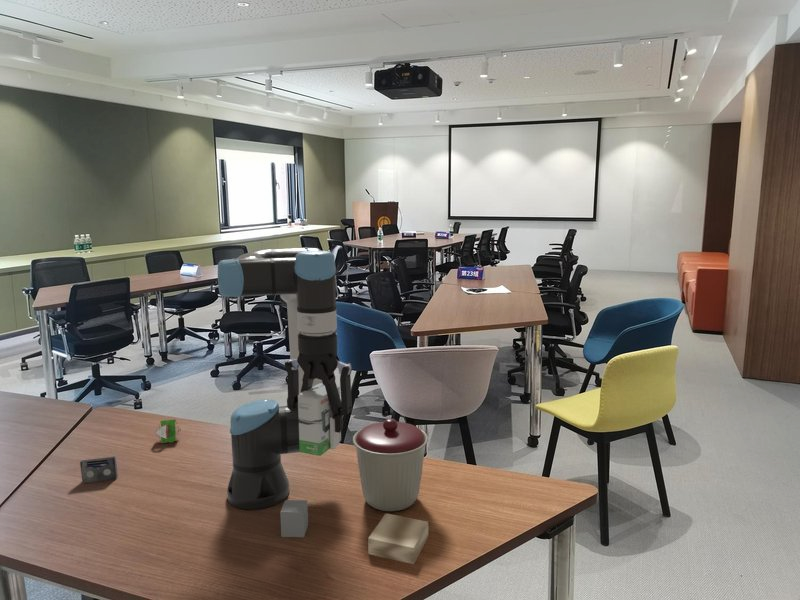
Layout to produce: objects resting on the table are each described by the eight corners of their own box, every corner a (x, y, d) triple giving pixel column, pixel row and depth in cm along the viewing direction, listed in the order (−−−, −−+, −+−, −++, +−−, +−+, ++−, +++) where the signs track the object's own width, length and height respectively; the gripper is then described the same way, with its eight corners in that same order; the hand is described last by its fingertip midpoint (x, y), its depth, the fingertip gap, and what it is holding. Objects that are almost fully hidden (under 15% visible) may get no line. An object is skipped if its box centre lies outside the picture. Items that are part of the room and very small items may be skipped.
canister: (338, 503, 139) (336, 421, 135) (387, 475, 152) (386, 400, 148) (395, 530, 127) (394, 441, 123) (442, 497, 141) (443, 417, 137)
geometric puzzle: (159, 428, 178) (155, 415, 173) (182, 426, 180) (178, 413, 174) (157, 449, 174) (152, 436, 168) (181, 446, 175) (177, 433, 170)
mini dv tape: (117, 476, 153) (115, 455, 152) (116, 479, 151) (114, 458, 150) (84, 480, 150) (81, 459, 149) (82, 483, 149) (80, 462, 148)
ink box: (320, 457, 109) (318, 398, 107) (298, 453, 111) (295, 395, 109) (342, 440, 116) (340, 384, 114) (321, 436, 118) (319, 381, 116)
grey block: (281, 537, 125) (280, 512, 124) (286, 524, 130) (285, 500, 129) (304, 537, 125) (303, 512, 124) (308, 524, 130) (307, 500, 129)
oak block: (368, 555, 119) (368, 538, 118) (385, 529, 128) (385, 513, 127) (413, 565, 115) (413, 548, 115) (428, 538, 125) (428, 521, 124)
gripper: (265, 333, 108) (270, 447, 113) (355, 339, 103) (357, 458, 107) (283, 324, 116) (288, 432, 120) (368, 330, 110) (370, 442, 114)
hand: (321, 444), depth 114 cm, fingers closed on ink box, 5 cm apart
